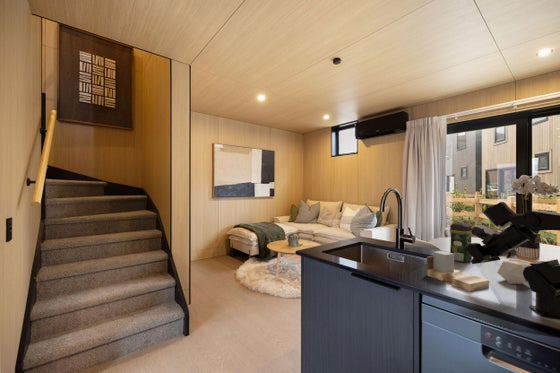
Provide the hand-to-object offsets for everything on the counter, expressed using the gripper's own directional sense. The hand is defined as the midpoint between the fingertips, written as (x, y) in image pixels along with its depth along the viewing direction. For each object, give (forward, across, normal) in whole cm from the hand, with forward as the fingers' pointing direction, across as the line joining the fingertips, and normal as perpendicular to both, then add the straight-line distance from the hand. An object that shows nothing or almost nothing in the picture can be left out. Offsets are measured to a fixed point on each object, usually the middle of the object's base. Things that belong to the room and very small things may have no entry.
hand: (472, 262), depth 92 cm
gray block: (+12, 0, -3) cm, 12 cm away
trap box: (+10, 0, +2) cm, 10 cm away
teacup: (+7, -32, +6) cm, 34 cm away
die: (+4, -19, +8) cm, 21 cm away
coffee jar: (+23, -30, -10) cm, 39 cm away
